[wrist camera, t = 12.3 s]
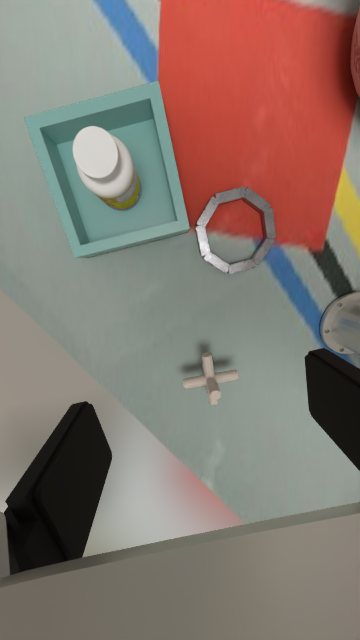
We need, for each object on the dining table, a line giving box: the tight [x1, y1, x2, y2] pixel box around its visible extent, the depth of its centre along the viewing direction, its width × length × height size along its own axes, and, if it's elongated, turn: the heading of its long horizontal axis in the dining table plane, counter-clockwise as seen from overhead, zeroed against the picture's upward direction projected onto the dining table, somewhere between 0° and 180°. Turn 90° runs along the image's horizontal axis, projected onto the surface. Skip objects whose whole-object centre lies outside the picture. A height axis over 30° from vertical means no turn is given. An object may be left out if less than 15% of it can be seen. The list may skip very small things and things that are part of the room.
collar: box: [195, 186, 276, 274], centre depth 38 cm, size 13×13×2 cm
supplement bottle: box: [73, 126, 141, 211], centre depth 29 cm, size 7×7×13 cm
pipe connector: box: [183, 352, 239, 405], centre depth 41 cm, size 10×10×10 cm
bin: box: [24, 81, 190, 258], centre depth 34 cm, size 18×18×6 cm
